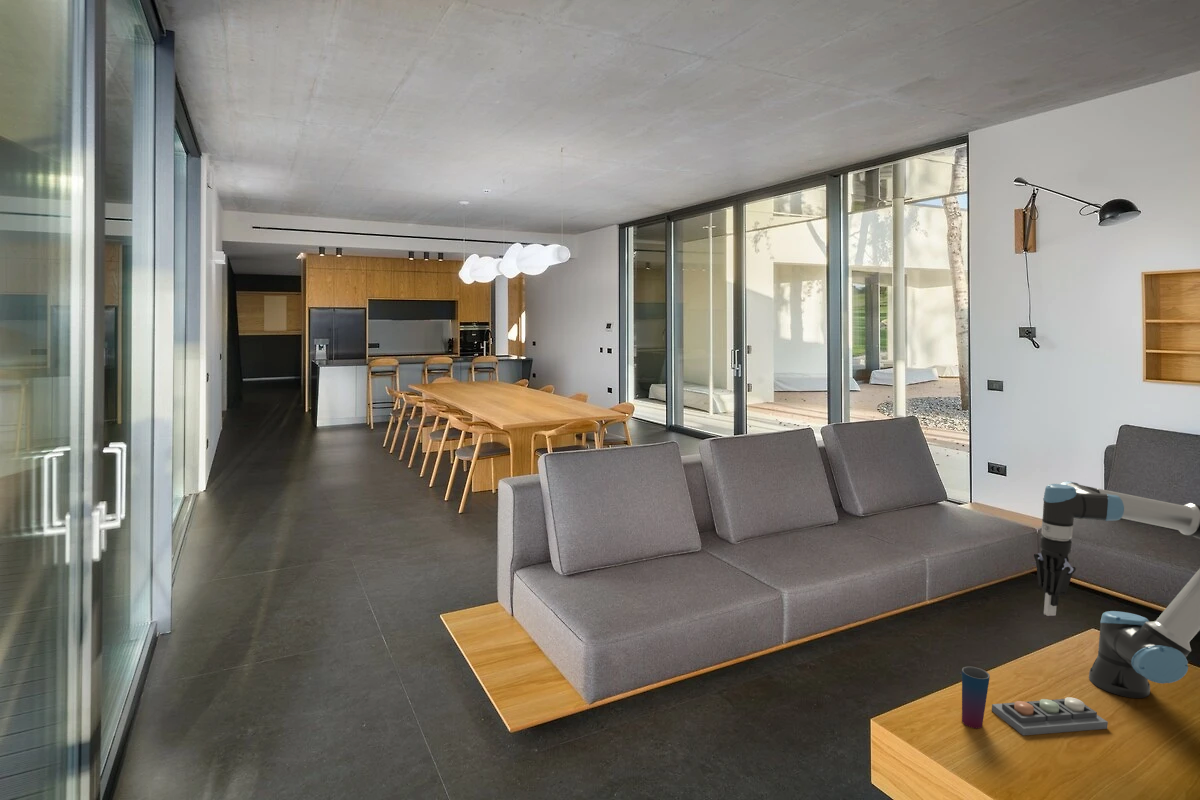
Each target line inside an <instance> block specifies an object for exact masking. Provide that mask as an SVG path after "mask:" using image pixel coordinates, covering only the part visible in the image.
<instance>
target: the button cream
mask: <svg viewBox="0 0 1200 800" xmlns="http://www.w3.org/2000/svg"><path fill="white" fill-rule="evenodd" d="M1064 699H1065V703H1064V706H1066V707H1067V708H1069V709H1070V710H1072V711H1073V712H1080V711H1084V705H1086V704H1085V702H1083V701H1082V700H1080V699H1078V698H1076V697H1071V696H1067V697H1065V698H1064Z"/></svg>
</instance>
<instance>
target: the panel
mask: <svg viewBox="0 0 1200 800" xmlns="http://www.w3.org/2000/svg"><path fill="white" fill-rule="evenodd" d="M1051 700H1052V701H1054V702H1056V703H1057V704H1058V705H1059V713H1054V714H1048V713H1046V712H1045V711H1043V710H1042V709H1041V708H1039V705H1040V700H1033V701H1032V700H1031V701H1030V700H1029V701H1026V702H1027V703H1029V704H1031V705H1032V706H1033V707H1034V711H1033V715H1028V716H1022V715H1021V714H1019V713H1018V712H1017V711H1015V710H1014V704H1015V702H1005V703H993V704H991V712H993V713H994V714H995V715H996V716H998V718H1000V719H1001V720H1002V721H1004V722H1005V723H1007V724H1008V725H1009V726H1010V727H1012V728H1013V729H1014V730H1016V731H1017V732H1018V733H1020V735H1022V736H1030V735H1031V736H1032V735H1043V734H1044V735H1046V734H1058V733H1069V732H1071V733H1073V732H1083V731H1095V730H1105V729H1106V730H1107V729H1108V726H1109V725H1108V723H1109V721H1107V720H1106V719H1105V718H1102V717H1101V716H1100V715H1098V712H1097V711H1096V710H1094V709H1092V708H1091V707H1089V706H1088V705H1087V704H1085V705H1084V711H1080V712H1073V711H1072V710H1070V709H1069V708H1067V707H1066V706H1064V703H1065V698H1060V699H1059V698H1057V699H1051Z"/></svg>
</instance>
